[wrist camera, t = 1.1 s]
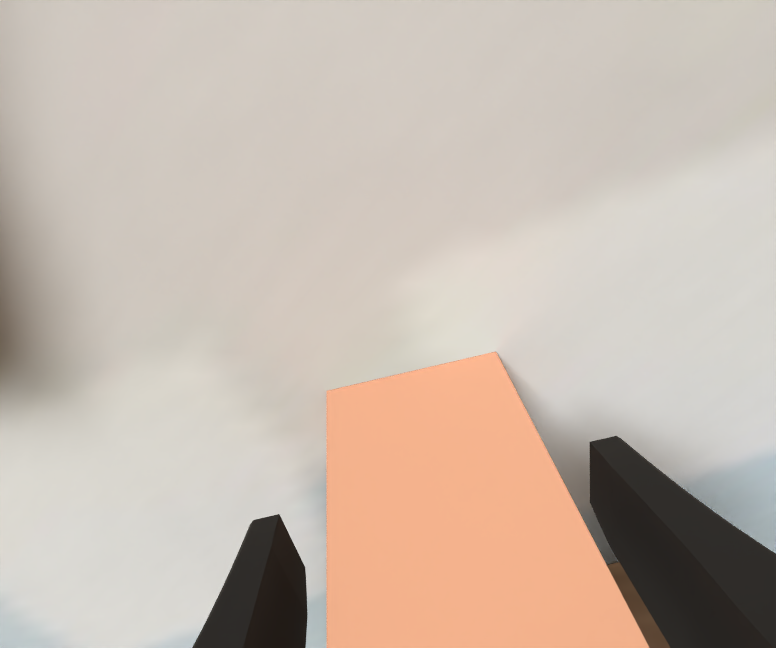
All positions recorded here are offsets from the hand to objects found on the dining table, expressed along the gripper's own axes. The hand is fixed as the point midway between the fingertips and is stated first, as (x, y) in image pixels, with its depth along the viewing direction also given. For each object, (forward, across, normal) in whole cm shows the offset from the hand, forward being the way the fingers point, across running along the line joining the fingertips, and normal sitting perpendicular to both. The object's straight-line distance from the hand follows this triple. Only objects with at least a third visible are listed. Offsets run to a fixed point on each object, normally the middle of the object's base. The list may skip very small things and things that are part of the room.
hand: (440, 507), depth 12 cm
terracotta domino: (+4, 0, 0) cm, 4 cm away
